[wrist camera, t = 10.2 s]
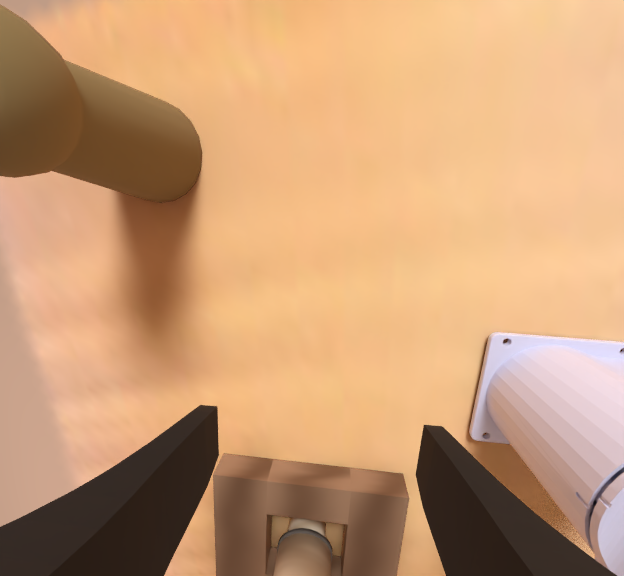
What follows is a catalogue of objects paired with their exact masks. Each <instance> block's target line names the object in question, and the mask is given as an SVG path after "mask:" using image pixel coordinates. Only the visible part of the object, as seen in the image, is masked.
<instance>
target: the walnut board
mask: <svg viewBox="0 0 624 576" xmlns="http://www.w3.org/2000/svg"><path fill="white" fill-rule="evenodd" d="M213 485H214V518H215V550H216V576H273V575H274V570H275V564H276V559H277V548H273V547H271V524H272V515H276V516H284V517H292V518H300V519H307V520H315V521H323V522H331V523H339V524H344V534H343V544H342V554H341V557H340V556H332V561H331V576H397V570H398V564H399V558H400V551H401V545H402V539H403V533H404V526H405V520H406V514H407V508H408V502H409V496H408V492H407V488H406V484H405V480H404V476H403V474H399V473H390V472H381V471H373V470H364V469H355V468H346V467H337V466H329V465H320V464H311V463H302V462H293V461H285V460H276V459H267V458H258V457H249V456H240V455H232V454H223V456H222V458H221V460H220V462H219V464H218V466H217V468H216V470H215V472H214V474H213Z"/></svg>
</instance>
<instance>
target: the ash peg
mask: <svg viewBox="0 0 624 576" xmlns="http://www.w3.org/2000/svg"><path fill="white" fill-rule="evenodd" d="M325 531H326V523H325V522H323V521H315V520H307V519H300V518H292V517H290V521H289V527H288V532H286V533H285V534H284V535H283V536H282V537H281V538H280V540H279V542H278V547H277V559H276V564H275V570H274V575H273V576H331V561H332V547H331V544H330V542H329V541H328V540H327V539H326V538H325Z"/></svg>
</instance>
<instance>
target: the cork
mask: <svg viewBox="0 0 624 576" xmlns="http://www.w3.org/2000/svg"><path fill="white" fill-rule="evenodd" d="M201 161H202V150H201V145H200V140H199V136H198V134H197V132H196V130H195V128H194V126H193V124H192V122H191V121H190V120H189V119H188V118H187V117H186V116H185V115H184V114H183V113H182V112H181V110H180V109H178V108H176V107H174V106H173V105H171V104H169V103H167V102H165V101H163V100H160V99H158V98H155V97H153V96H151V95H148V94H146V93H143V92H141V91H139V90H136V89H134V88H131V87H129V86H126V85H124V84H122V83H119V82H117V81H114V80H112V79H109V78H107V77H105V76H102V75H100V74H97V73H95V72H93V71H90V70H88V69H85V68H83V67H80V66H78V65H76V64H73V63H71V62H68V61H66V60H63V58H62V56H61V55H60V54H59V53H58V52H57V51H56V50H55V49H54V48H53V47H52V46H51V45H50V44H49V43H48V42H47V41H46V39H45V38H44V37H43V36H41V35H40V34H39V33H38V32H37V31H36V30H35V29H34V28H33V27H32V26H31V25H30V24H29V23H28V22H27V21H26V20H24V19H23V18H21V17H19V16H18V15H16V14H15V13H13V12H12V11H10V10H9V9H7V8H6V7H4V6H2V5H0V176H5V177H14V178H15V177H23V176H31V175H36V174H41V173H47V172H50V171H54V172H57V173H61V174H64V175H67V176H70V177H73V178H77V179H80V180H83V181H86V182H90V183H93V184H96V185H99V186H103V187H106V188H109V189H112V190H115V191H119V192H122V193H125V194H128V195H132V196H135V197H138V198H141V199H145V200H148V201H154V202H160V203H162V202H168V201H174V200H176V199H178V198H179V197H181V196H183V195H185V194H186V193H187V192H188V191H189V190H190V189H191V187H192V186H193V185H194V184H195V182H196V180H197V177H198V175H199V172H200V170H201Z"/></svg>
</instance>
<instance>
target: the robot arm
mask: <svg viewBox="0 0 624 576" xmlns="http://www.w3.org/2000/svg"><path fill="white" fill-rule="evenodd" d="M506 338H508V341H507V342H506V343H503V340H504V339H506ZM621 349H623V350H622V351H621V352H620V350H621ZM484 433H487V434H486V435H483V434H484ZM469 434H470V436H471V437H472V439H474V440H476V441H484V442H493V443H503V444H511V445H512V447H513V448H514V449H515V451H516V452H517V453H518V455H519V456H520V457H521V458H522V460H523V461H524V462H525V464H526V465H527V466H528V468H529V469H530V470H531V472H532V473H533V474H534V476H535V477H536V478H537V479H538V481H539V482H540V483H541V485H542V486H543V487H544V489H545V490H546V491H547V493H548V494H549V495H550V496H551V498H552V499H553V500H554V502H555V503H556V504H557V506H558V507H559V508H560V510H561V511H562V512H563V514H564V515H565V516H566V517H567V519H568V520H569V521H570V523H571V524H572V525H573V527H574V528H575V529H576V531H577V532H578V533H579V534H580V536H581V537H582V538H583V540H584V541H585V542H586V544H587V545H588V546H589V548H590V549H591V550H592V551H593V553H594V554H595V559H593V558H592V557H590V556H589V555H588V554H586V553H585V552H584V551H582V550H581V549H580V548H578V547H577V546H576V545H574V544H573V543H572V542H571V541H569V540H568V539H567V538H566V537H564V536H563V535H562V534H560V533H559V532H558V531H557V530H555V529H554V528H553V527H552V526H550V525H549V524H548V523H546V522H545V521H544V520H543V519H542V518H540V517H539V516H538V515H537V514H536V513H534V512H533V511H532V510H531V509H530V508H529V507H527V506H526V505H525V504H524V503H523V502H522V501H520V500H519V499H518V498H517V497H516V496H515V495H514V494H512V493H511V492H510V491H509V490H508V489H507V488H506V487H505V486H504V485H502V484H501V483H500V482H499V481H498V480H497V479H496V478H495V477H494V476H493V475H492V474H491V473H490V472H489V471H487V470H486V469H485V468H484V467H483V466H482V465H481V464H480V463H479V462H478V461H477V460H476V459H475V458H474V457H473V456H472V455H471V454H470V453H469V452H468V451H467V450H466V449H465V448H464V447H463V446H462V445H461V444H460V443H459V442H458V441H457V440H456V439H455V438H454V437H453V436H452V435H451V434H450V433H449V432H448V431H447V430H445V429H444V428H443V427H442V426H431V425H424V428H423V434H422V440H421V446H420V452H419V458H418V464H417V470H416V478H417V482H418V487H419V492H420V496H421V500H422V505H423V509H424V512H425V515H426V518H427V521H428V524H429V527H430V530H431V533H432V536H433V539H434V542H435V545H436V547H437V550H438V553H439V556H440V559H441V562H442V565H443V568H444V571H445V574H446V576H624V342H617V341H604V340H592V339H579V338H566V337H553V336H541V335H528V334H515V333H502V332H494V333H492V334H491V335H490V336H489V338H488V342H487V347H486V352H485V356H484V361H483V366H482V371H481V376H480V381H479V386H478V390H477V395H476V400H475V405H474V410H473V415H472V420H471V424H470V429H469ZM218 456H219V450H218V414H217V407H216V406H205V405H200V406H199V407H197V408H196V409H194V410H193V411H192V412H190V413H189V414H188V415H186V416H185V417H184V418H182V419H181V420H180V421H178V422H177V423H176V424H174V425H173V426H172V427H170V428H169V429H167V430H166V431H165V432H163V433H162V434H161V435H159V436H158V437H157V438H155V439H154V440H152V441H151V442H150V443H148V444H147V445H145V446H144V447H142V448H141V449H139V450H138V451H136V452H135V453H133V454H132V455H130V456H129V457H127V458H126V459H124V460H123V461H121V462H120V463H118V464H117V465H115V466H114V467H112V468H111V469H109V470H107V471H106V472H104V473H102V474H101V475H99V476H97V477H96V478H94V479H92V480H91V481H89V482H87V483H85V484H84V485H82V486H80V487H78V488H77V489H75V490H73V491H71V492H69V493H68V494H66V495H64V496H62V497H60V498H58V499H56V500H54V501H52V502H50V503H48V504H46V505H44V506H42V507H40V508H38V509H37V510H35V511H33V512H31V513H29V514H27V515H25V516H23V517H21V518H19V519H17V520H15V521H12V522H10V523H8V524H6V525H4V526H2V527H0V576H164V574H165V572H166V570H167V568H168V566H169V563H170V561H171V559H172V557H173V555H174V553H175V551H176V549H177V547H178V545H179V543H180V541H181V539H182V537H183V535H184V533H185V531H186V529H187V527H188V525H189V523H190V521H191V519H192V517H193V515H194V513H195V511H196V509H197V507H198V505H199V502H200V500H201V498H202V496H203V494H204V492H205V490H206V488H207V486H208V483H209V481H210V478H211V475H212V473H213V470H214V467H215V464H216V461H217V458H218Z"/></svg>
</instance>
